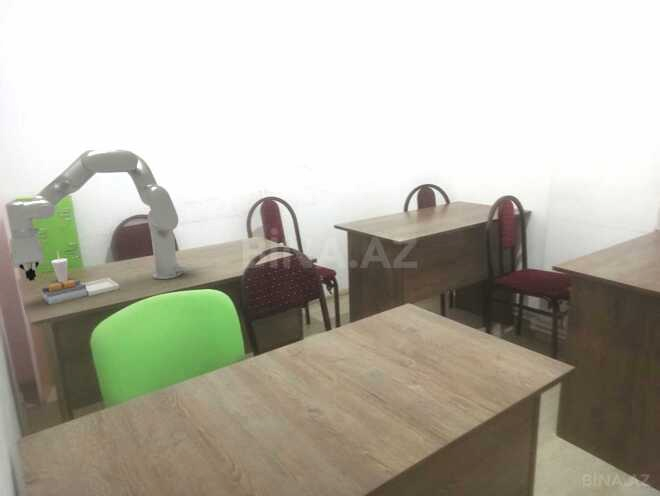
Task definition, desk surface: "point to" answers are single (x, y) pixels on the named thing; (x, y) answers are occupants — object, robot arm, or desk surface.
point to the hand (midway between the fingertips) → (31, 279)
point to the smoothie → (60, 268)
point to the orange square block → (68, 284)
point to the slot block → (64, 293)
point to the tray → (101, 286)
